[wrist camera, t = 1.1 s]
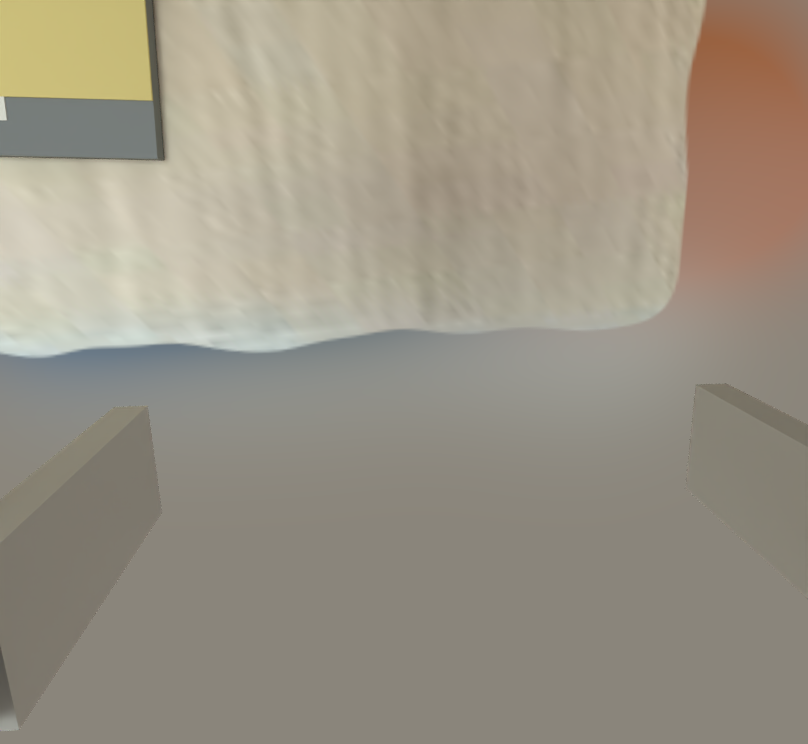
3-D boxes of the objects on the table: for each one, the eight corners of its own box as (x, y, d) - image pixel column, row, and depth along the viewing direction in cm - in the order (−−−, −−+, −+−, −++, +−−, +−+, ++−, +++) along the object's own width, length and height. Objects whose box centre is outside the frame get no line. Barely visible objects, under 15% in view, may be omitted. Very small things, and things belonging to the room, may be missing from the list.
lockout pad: (-43, -75, 32) (-45, -77, 32) (140, -67, 33) (138, -69, 32) (-19, 96, 34) (-21, 95, 34) (153, 101, 35) (151, 100, 34)
